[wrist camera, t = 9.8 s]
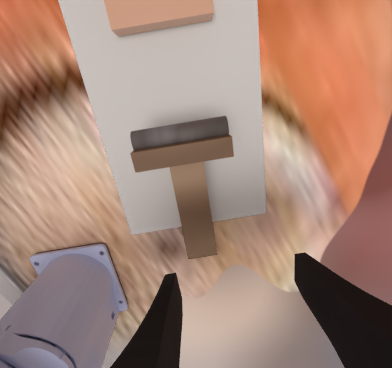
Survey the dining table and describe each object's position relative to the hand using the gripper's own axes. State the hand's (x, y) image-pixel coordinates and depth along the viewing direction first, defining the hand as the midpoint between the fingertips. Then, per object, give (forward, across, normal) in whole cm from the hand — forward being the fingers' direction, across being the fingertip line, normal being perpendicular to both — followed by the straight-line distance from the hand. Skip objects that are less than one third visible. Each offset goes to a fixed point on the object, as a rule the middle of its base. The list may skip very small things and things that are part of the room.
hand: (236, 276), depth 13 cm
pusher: (+9, +2, -3) cm, 10 cm away
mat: (+9, +2, -11) cm, 15 cm away
